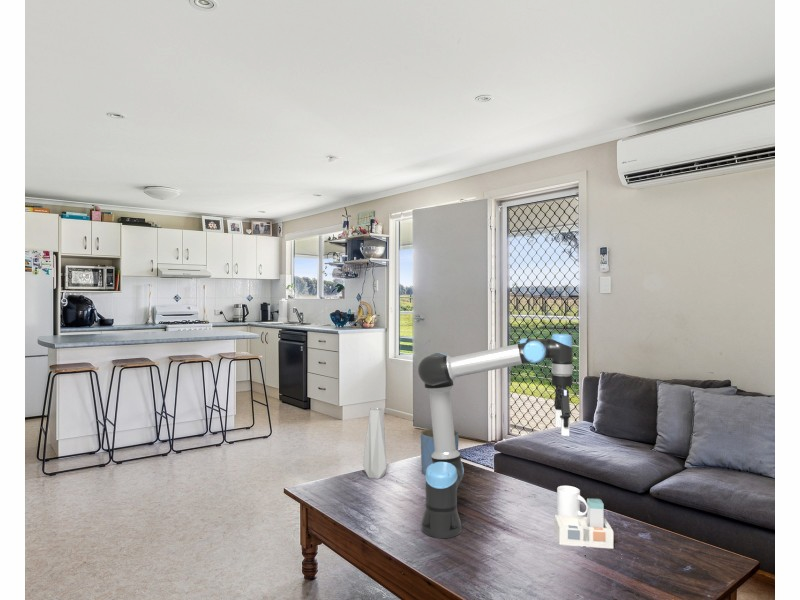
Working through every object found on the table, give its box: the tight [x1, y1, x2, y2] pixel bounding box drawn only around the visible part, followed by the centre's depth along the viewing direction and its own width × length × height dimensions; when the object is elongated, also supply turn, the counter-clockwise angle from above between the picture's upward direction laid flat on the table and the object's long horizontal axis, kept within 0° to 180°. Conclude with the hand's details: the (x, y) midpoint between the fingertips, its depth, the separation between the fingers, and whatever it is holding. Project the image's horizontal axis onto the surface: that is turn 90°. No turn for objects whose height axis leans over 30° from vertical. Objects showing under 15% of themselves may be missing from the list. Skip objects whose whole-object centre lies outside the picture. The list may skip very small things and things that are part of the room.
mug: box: [556, 485, 587, 517], centre depth 199 cm, size 9×12×11 cm
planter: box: [420, 428, 460, 476], centre depth 252 cm, size 19×19×20 cm
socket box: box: [554, 514, 614, 550], centre depth 180 cm, size 18×11×6 cm, turn 82°
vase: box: [362, 407, 388, 480], centre depth 245 cm, size 12×12×33 cm
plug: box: [586, 497, 605, 528], centre depth 180 cm, size 5×5×12 cm
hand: (561, 431), depth 189 cm, fingers open, 13 cm apart
